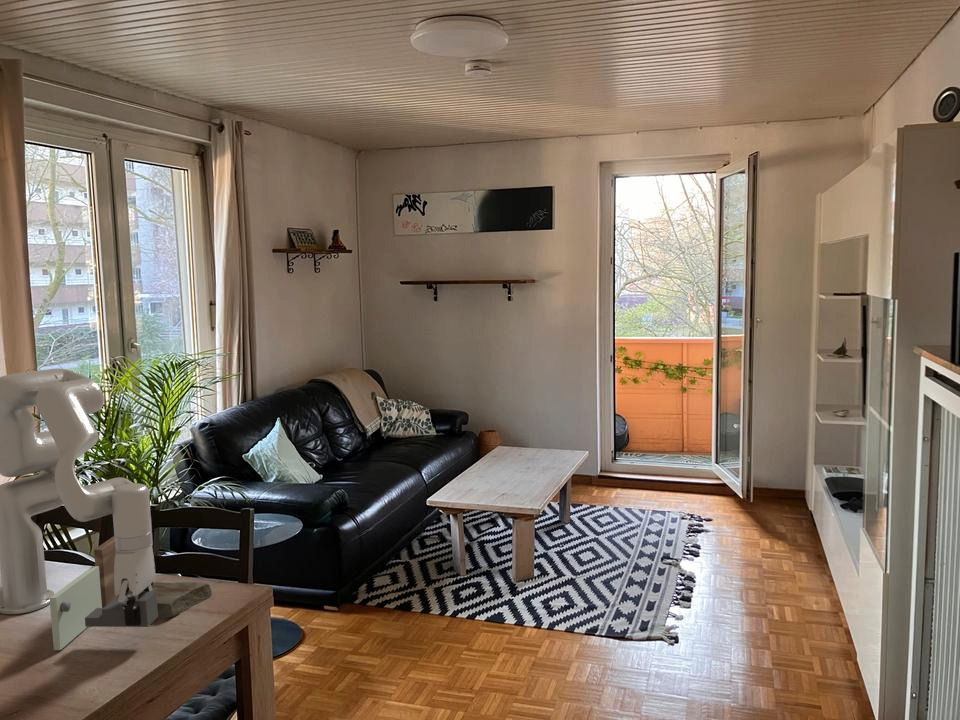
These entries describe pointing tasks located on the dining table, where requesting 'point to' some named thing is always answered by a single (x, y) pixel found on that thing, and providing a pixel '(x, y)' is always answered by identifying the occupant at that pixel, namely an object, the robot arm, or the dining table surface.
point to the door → (74, 606)
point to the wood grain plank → (106, 570)
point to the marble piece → (179, 596)
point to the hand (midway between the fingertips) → (139, 618)
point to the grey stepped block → (116, 617)
